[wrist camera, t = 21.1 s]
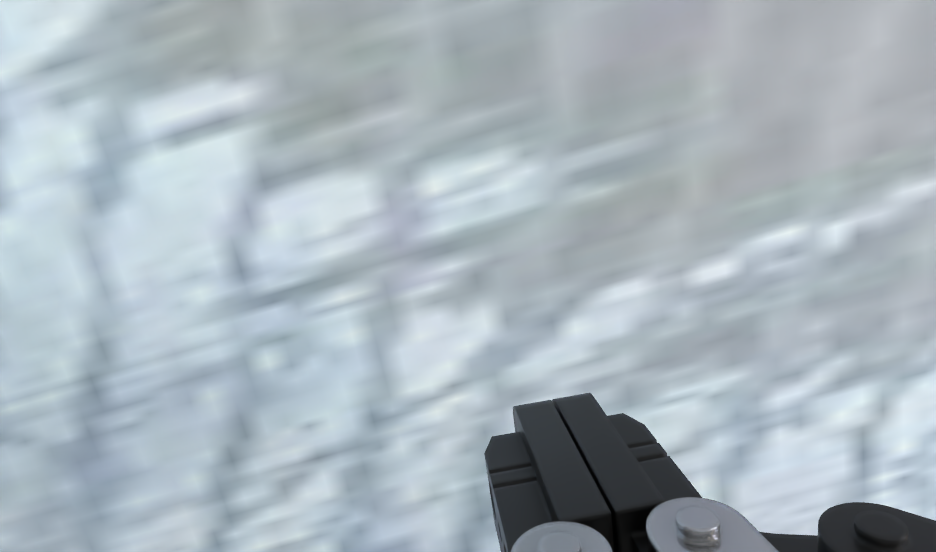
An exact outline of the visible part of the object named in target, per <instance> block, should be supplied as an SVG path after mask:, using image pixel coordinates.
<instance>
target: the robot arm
mask: <svg viewBox="0 0 936 552" xmlns="http://www.w3.org/2000/svg"><path fill="white" fill-rule="evenodd" d="M513 416H514V424H515V432H516V433H510V434H505V435H499V436H493V437H492V438H491V440H490V442H489V445H488V447H487V449H486V451H485V460H486V467H487V474H488V480H489V487H490V494H491V501H492V508H493V515H494V521H495V526H496V531H497V535H498V539H499V543H500V548H501V552H936V521H934V520H931V519H928V518H924V517H921V516H918V515H915V514H912V513H908V512H905V511H902V510H899V509H895V508H892V507H888V506H884V505H879V504H873V503H861V502H853V503H844V504H840V505H836V506H834V507H831V508H829V509H828V510H826V511H825V512H824V513H823V514H822V515H821V517H820V519H819V522H818V536H812V535H789V534H772V533H763V532H759V531H758V530H757V529H756V528H755V527H754V526H753V525H752V524H751V523H750V522H749V521H748V520H747V519H746V518H745V517H744V516H742V515H741V514H740V513H739V512H738V511H736V510H734V509H733V508H731V507H729V506H727V505H725V504H723V503H720V502H717V501H714V500H710V499H705V498H702V497H701V496H700V494H699V493H698V492H697V491H696V489H695V488H694V487H693V486H692V484H691V483H690V482H689V480H688V479H687V478H686V477H685V475H684V474H683V473H682V472H681V470H680V469H679V468H678V467H677V465H676V464H675V463H674V462H673V460H672V459H671V458H670V457H669V456H667V453H666V451H665V450H664V449H663V448H662V446H661V445H660V444H659V443H657V441H656V439H655V438H654V436H653V435H652V434H651V433H650V431H649V430H648V429H647V428H646V426H645V425H644V424H642V423H640V422H638V421H637V420H635V419H633V418H631V417H629V416H627V415H625V414H623V413H622V414H616V415H611V416H607V415H606V414H605V413H604V411H603V410H602V408H601V407H600V405H599V404H598V402H597V401H596V400H595V398H594V397H593V395H592V394H591V393H586V394H581V395H575V396H569V397H564V398H558V399H553V400H552V401H551V400H547V401H542V402H536V403H530V404H524V405H519V406H514V407H513Z"/></svg>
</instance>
